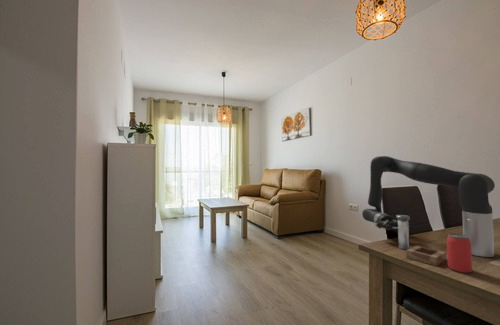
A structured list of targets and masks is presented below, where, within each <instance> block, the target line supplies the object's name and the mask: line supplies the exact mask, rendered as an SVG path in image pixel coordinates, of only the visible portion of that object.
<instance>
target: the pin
mask: <svg viewBox="0 0 500 325" xmlns="http://www.w3.org/2000/svg"><path fill="white" fill-rule="evenodd" d="M396 219H397V221H398V228H397V235H398V236H397V238H398V241H397V242H398V249H401V250H405V249H406V250H408V249H410V236H409V235H410V234H409V229H408V223H409V220H411V218H410V215H406V214H405V215H404V214H396V215H395V220H396ZM406 250H405V251H406Z"/></svg>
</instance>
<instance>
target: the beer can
mask: <svg viewBox="0 0 500 325" xmlns="http://www.w3.org/2000/svg"><path fill="white" fill-rule="evenodd" d="M447 236H448V237H447V239H446V260H447V267H448V268H449V269H450V270H451V271H455V272H458V273H463V274H468V273H471V272H473V255H472V248H471V241H470V239H469V237H468V236H466V235H463V233H462V234H461V233H448V235H447Z"/></svg>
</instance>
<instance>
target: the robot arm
mask: <svg viewBox="0 0 500 325" xmlns="http://www.w3.org/2000/svg"><path fill="white" fill-rule="evenodd" d="M369 168H370V181H369V182H370V185H369V186H370V187H369V193H368V199H367V204H368V205H369V206H370V207H374V208H375V209H374V208H364V209H363V210H362V214H361V215H362V217H363V219H364V220H365V221H367V222H371V223H373V224H375V227H376V228H378V229H379V230H380V229H383V230H387V231H391V230H392V229H398V220H396V218H394V217H393V216H392V215H389V214H387V213H384V212H383V211H382V203H383V202H382V201H383V195H384V191H383V187H382V177H383V173H395V174H399V175H402V176H405V177H406V178H408V179H410V180H412V181H417V182H420V183H424V184H430V185H438V186H448V187H453V188H456V189H458V196H459V204H460V207H461V213H462V214H461V215H462V235H466V236H468V237H469V239H470V241H471V248H472V256H473V255H474V256H477V257H485V258H491V257H492V258H493V257H494V256H495V242H494V240H495V239H494V220H493V219H494V218H493V207H492V205H491V204H490V202H489V194H490V193H492V192H493V190H495V185H496V184H495V182H494V180H493V179H492V178H491V177H489V176H488V175H487V174H483V173H476V172H475V173H473V172H465V171H457V170H453V169H449V168H445V167H442V166H441V167H440V166H438V165H432V164H428V163H423V162H417V161H416V162H415V161H407V160H401V159H397V158H395V157H391V156H386V155H383V156H375V157H373V158H372V159H371V161H370V167H369ZM408 229H409V231H411V224H410V223H409V222H408Z"/></svg>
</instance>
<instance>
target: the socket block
mask: <svg viewBox="0 0 500 325" xmlns="http://www.w3.org/2000/svg"><path fill="white" fill-rule="evenodd" d="M405 254H406V257H405V258H406V259H409V260H412V261H413V260H414V261H417V262H421V263H424V264H428V265H430V266H435V267H437V266H439V265H440V264H442V263H444V262H445V261H446V260H447V251H443V250H440V249H439V250H438V249H435V248H434V249H433V248H430V247H426V246H421V245H415V246H413V247H411V248H410V247H409V249H408V250H405Z"/></svg>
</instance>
